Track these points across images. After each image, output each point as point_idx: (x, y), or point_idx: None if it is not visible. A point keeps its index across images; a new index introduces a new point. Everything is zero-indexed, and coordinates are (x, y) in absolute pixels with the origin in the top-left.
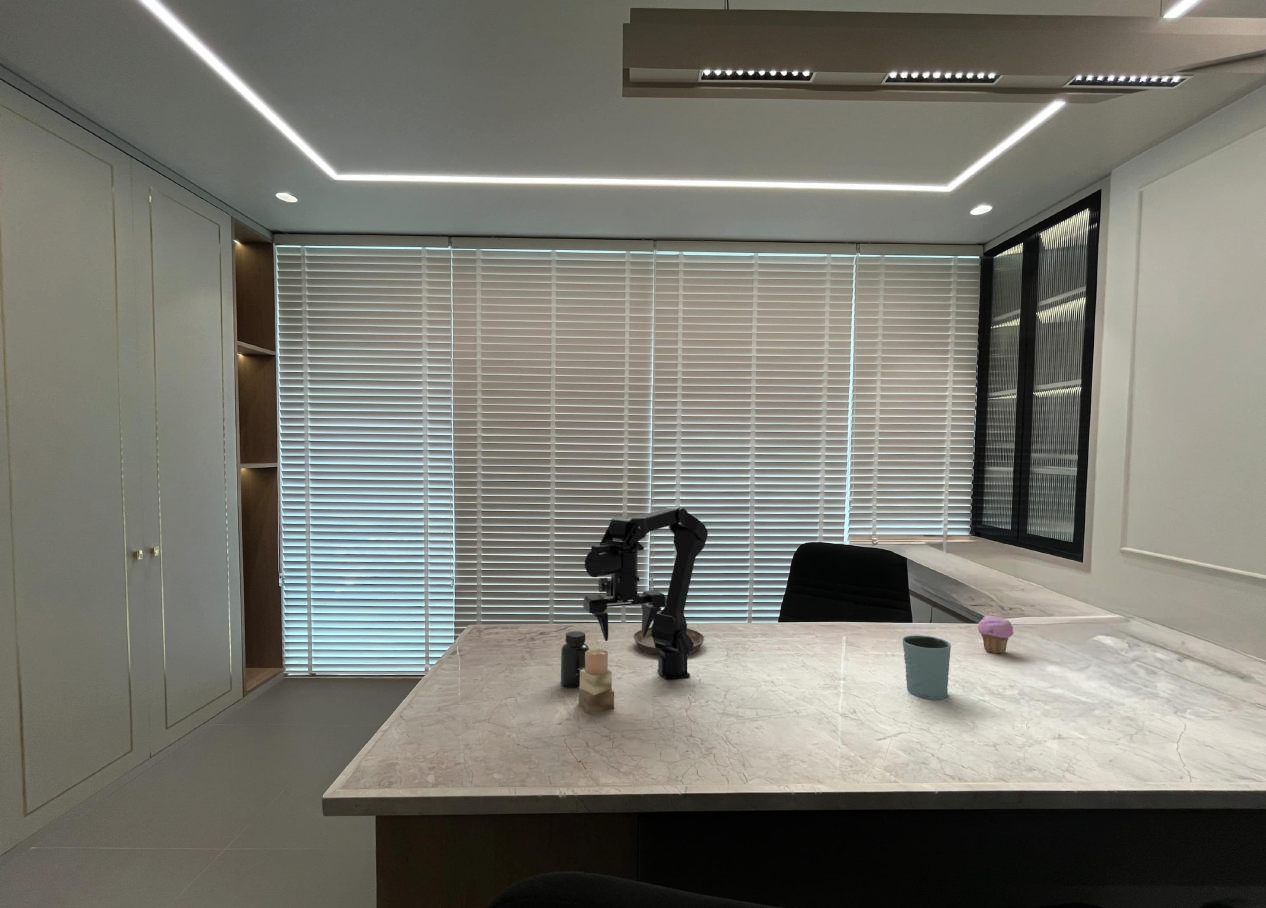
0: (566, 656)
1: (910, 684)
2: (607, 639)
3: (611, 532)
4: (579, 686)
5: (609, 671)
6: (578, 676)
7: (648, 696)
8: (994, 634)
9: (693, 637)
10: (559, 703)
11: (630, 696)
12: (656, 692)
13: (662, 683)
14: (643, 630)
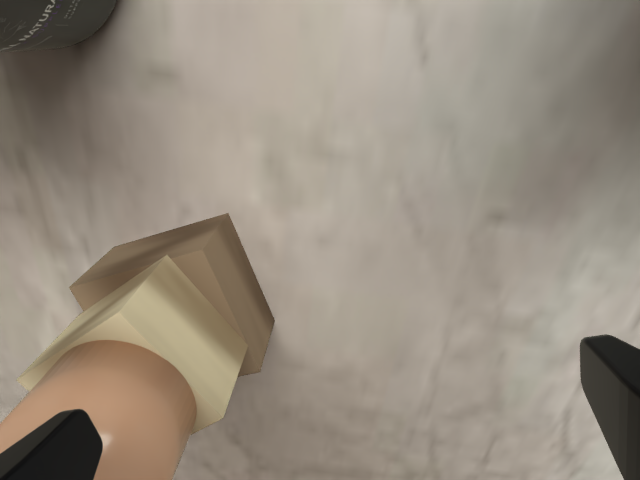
0: None
1: None
2: (95, 468)
3: None
4: (73, 288)
5: (208, 422)
6: (35, 47)
7: (461, 215)
8: None
9: None
10: (26, 235)
11: (367, 203)
12: (522, 170)
13: (614, 29)
14: (627, 460)
